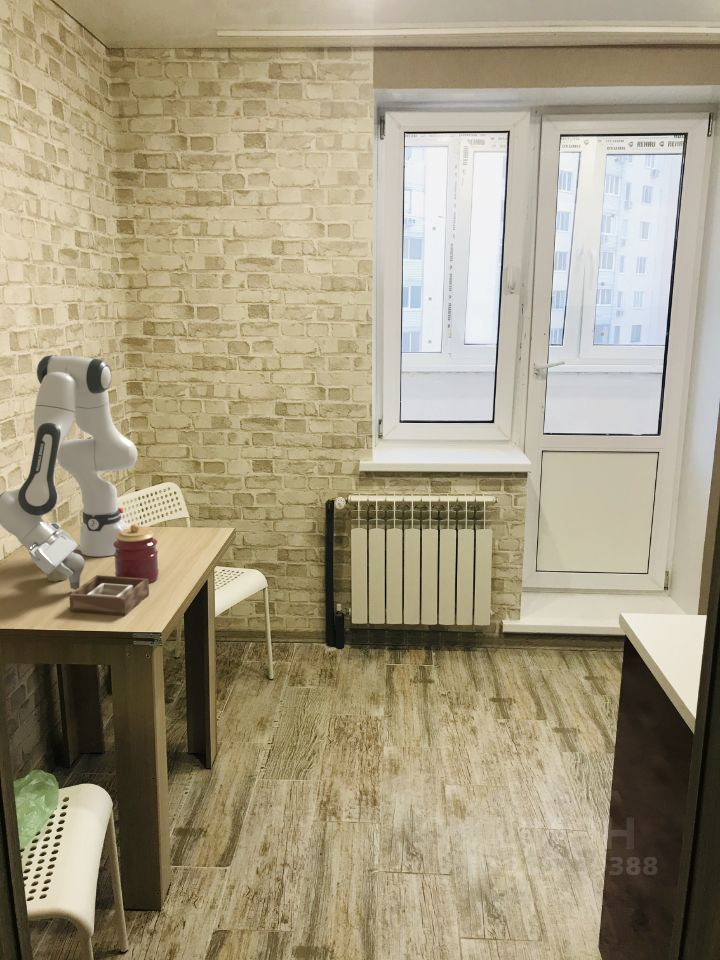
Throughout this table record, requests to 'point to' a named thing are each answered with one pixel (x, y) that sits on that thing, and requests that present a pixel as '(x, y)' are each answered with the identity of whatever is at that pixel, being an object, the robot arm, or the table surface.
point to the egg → (74, 568)
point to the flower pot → (56, 575)
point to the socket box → (109, 595)
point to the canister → (136, 554)
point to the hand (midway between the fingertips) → (76, 570)
